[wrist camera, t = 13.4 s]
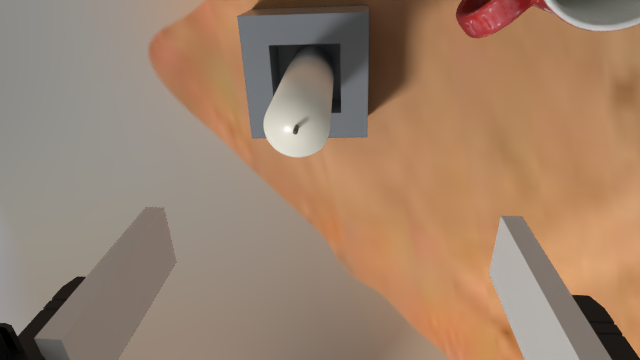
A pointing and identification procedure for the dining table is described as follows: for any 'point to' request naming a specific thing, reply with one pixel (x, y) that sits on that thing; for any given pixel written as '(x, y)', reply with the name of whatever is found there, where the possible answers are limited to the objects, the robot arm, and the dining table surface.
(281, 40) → the holder
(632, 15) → the mug
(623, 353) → the robot arm
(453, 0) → the dining table surface
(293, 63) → the candle
